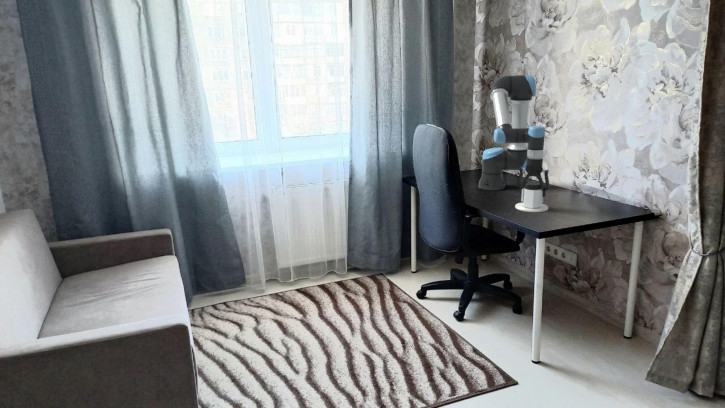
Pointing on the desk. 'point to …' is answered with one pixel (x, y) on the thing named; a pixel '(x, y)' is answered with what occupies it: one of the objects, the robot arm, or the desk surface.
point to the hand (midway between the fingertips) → (531, 201)
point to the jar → (532, 195)
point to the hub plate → (522, 208)
